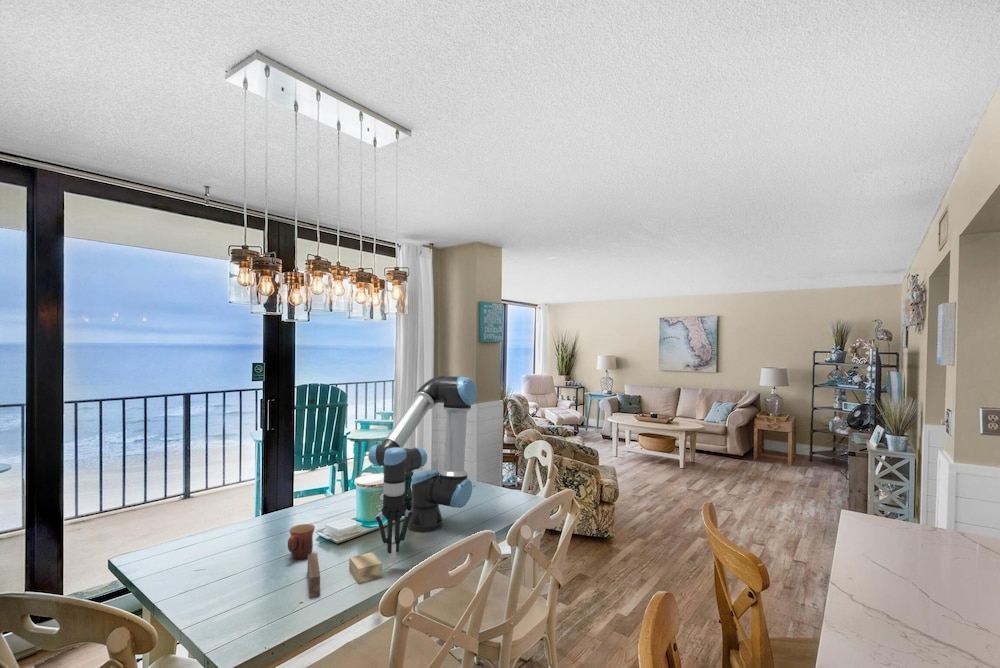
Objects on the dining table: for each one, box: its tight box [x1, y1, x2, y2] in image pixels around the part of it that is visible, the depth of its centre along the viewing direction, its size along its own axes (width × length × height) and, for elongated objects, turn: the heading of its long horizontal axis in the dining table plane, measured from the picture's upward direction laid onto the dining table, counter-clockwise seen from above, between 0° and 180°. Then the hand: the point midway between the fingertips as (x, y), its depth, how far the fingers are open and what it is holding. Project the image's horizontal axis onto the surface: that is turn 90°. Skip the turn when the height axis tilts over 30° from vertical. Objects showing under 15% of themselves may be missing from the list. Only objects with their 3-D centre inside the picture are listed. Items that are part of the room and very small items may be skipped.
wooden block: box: [307, 552, 321, 599], centre depth 157 cm, size 3×18×6 cm, turn 24°
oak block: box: [348, 552, 383, 584], centre depth 164 cm, size 8×10×5 cm
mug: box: [287, 523, 316, 561], centre depth 175 cm, size 12×9×10 cm
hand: (392, 561), depth 167 cm, fingers closed
